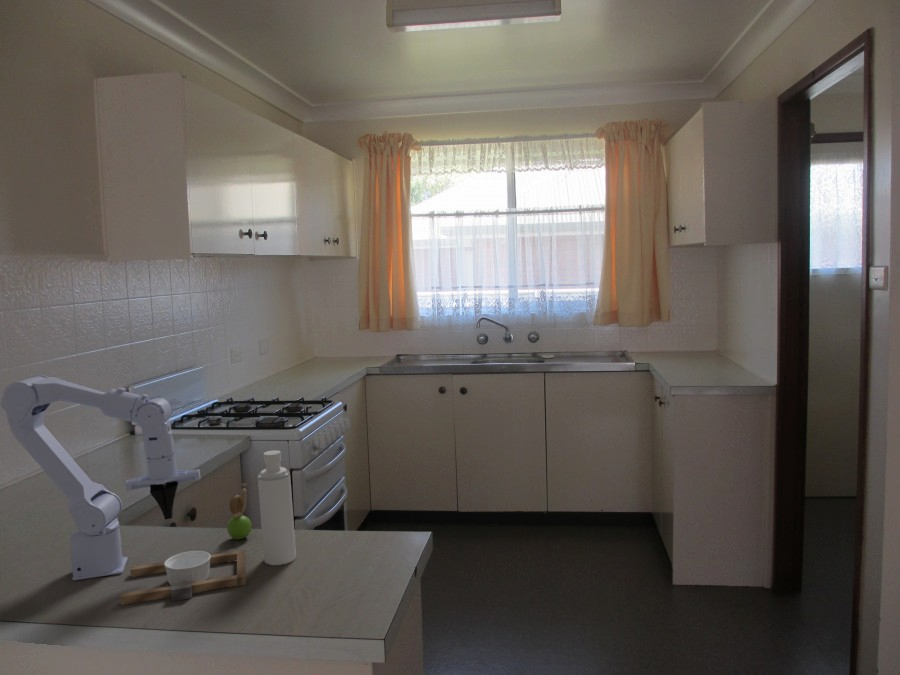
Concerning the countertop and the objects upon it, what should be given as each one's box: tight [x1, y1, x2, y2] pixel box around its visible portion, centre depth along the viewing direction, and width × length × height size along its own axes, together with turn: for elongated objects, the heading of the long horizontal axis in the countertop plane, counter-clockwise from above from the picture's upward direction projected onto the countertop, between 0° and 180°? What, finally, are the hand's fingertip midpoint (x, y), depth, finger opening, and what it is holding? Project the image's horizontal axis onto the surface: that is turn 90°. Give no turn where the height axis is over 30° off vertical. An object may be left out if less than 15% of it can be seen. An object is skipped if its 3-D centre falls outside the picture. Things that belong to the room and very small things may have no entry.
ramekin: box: [164, 550, 212, 586], centre depth 146 cm, size 9×9×4 cm
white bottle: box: [257, 450, 297, 566], centre depth 153 cm, size 7×7×25 cm
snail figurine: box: [226, 483, 252, 540], centre depth 166 cm, size 5×6×12 cm
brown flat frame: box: [119, 549, 247, 606], centre depth 146 cm, size 23×18×2 cm
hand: (168, 517), depth 152 cm, fingers closed
